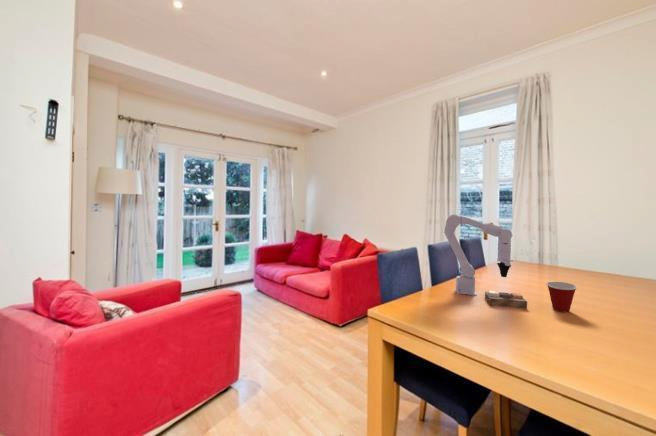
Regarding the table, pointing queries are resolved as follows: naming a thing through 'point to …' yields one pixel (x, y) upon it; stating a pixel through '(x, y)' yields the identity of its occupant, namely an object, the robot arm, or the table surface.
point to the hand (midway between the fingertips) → (503, 276)
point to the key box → (506, 302)
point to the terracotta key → (516, 295)
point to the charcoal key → (505, 295)
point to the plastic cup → (561, 295)
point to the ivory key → (493, 293)
